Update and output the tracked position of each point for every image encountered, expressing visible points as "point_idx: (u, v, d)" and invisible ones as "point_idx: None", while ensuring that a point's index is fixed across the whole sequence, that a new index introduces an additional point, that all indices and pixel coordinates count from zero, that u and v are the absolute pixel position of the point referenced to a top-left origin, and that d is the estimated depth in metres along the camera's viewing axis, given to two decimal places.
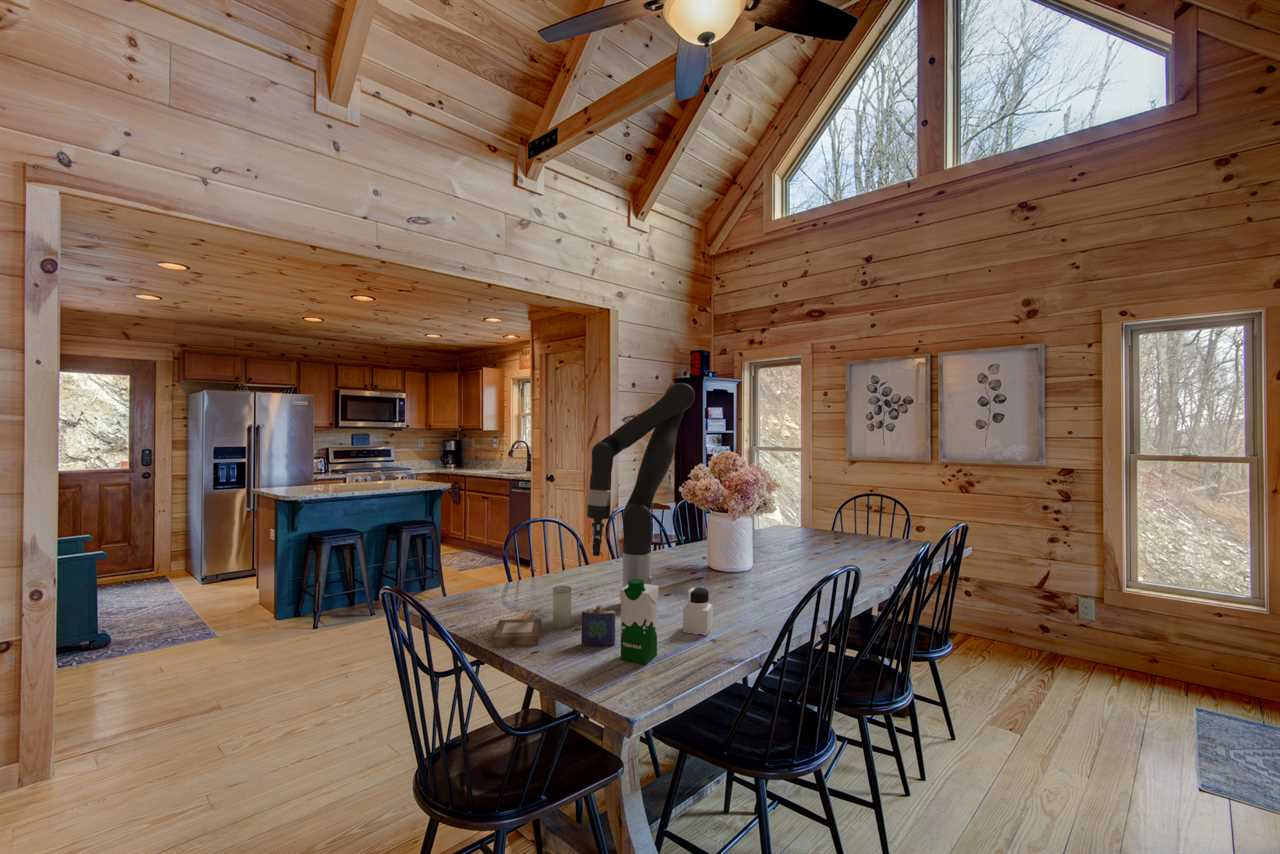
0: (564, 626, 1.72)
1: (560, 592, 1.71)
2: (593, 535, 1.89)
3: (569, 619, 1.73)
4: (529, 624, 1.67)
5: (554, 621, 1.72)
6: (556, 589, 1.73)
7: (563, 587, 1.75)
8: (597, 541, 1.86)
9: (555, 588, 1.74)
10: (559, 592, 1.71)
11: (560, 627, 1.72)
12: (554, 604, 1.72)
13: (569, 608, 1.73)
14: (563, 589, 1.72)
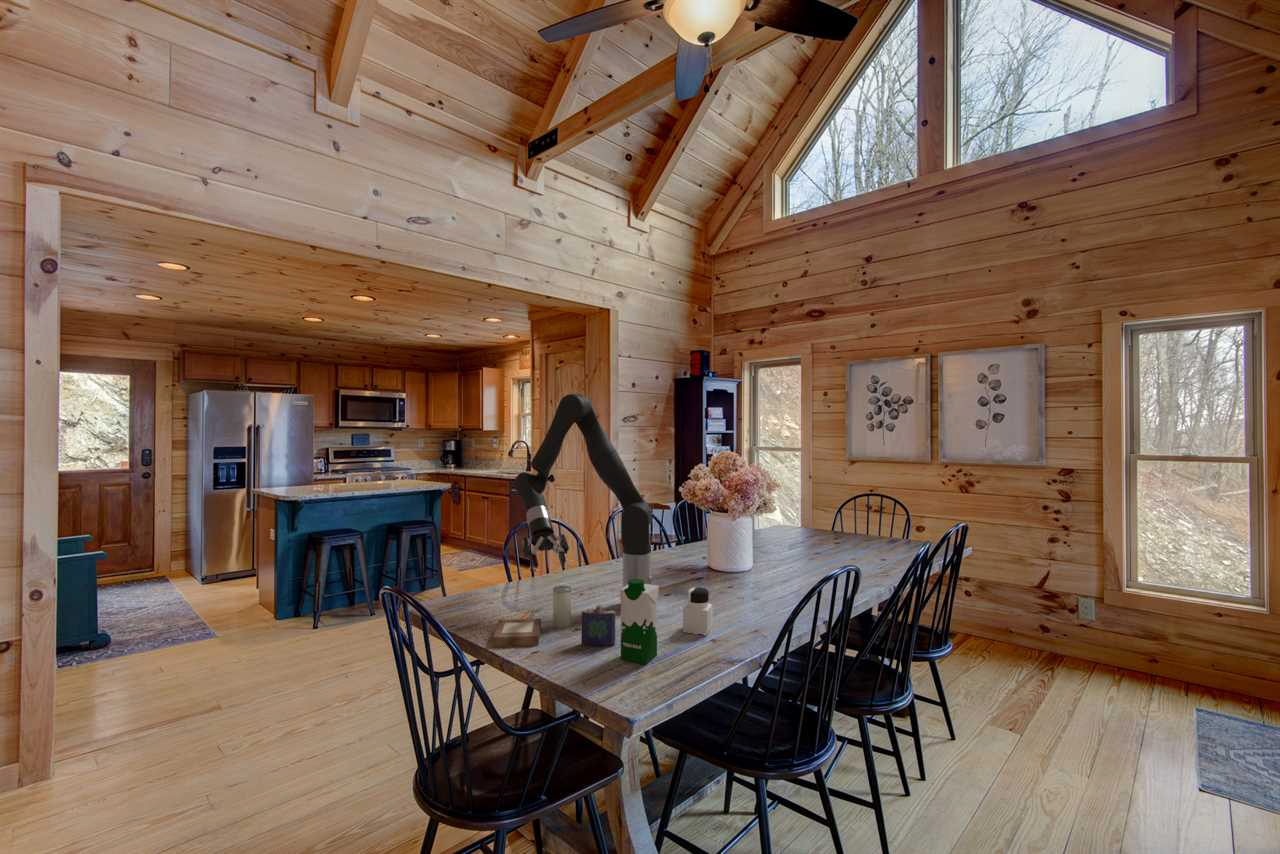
0: (564, 626, 1.72)
1: (560, 591, 1.71)
2: None
3: (569, 619, 1.73)
4: (529, 624, 1.67)
5: (554, 621, 1.72)
6: (556, 589, 1.73)
7: (563, 587, 1.75)
8: (524, 553, 1.84)
9: (555, 588, 1.74)
10: (559, 592, 1.71)
11: (560, 627, 1.72)
12: (554, 604, 1.73)
13: (569, 608, 1.73)
14: (563, 589, 1.73)
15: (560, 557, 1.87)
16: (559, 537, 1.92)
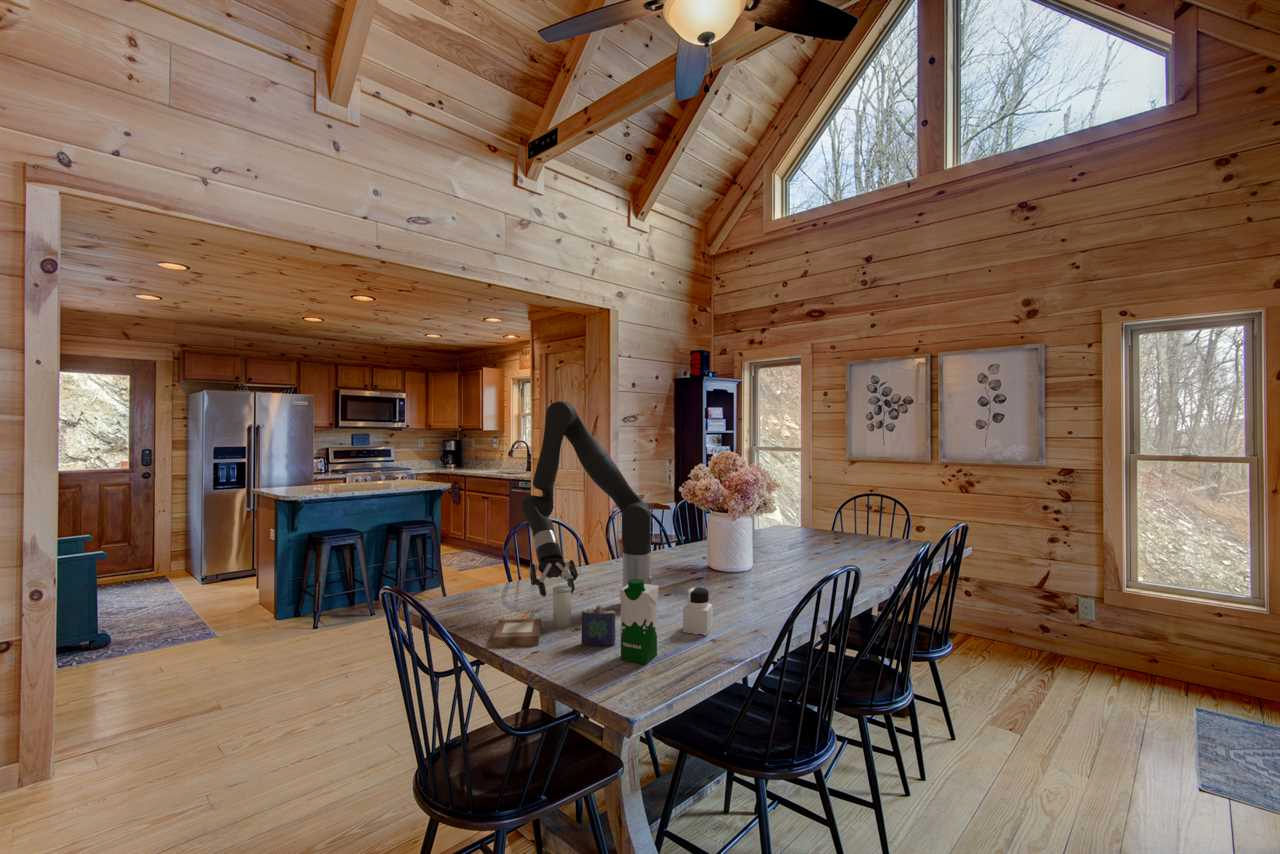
0: (564, 626, 1.72)
1: (560, 591, 1.71)
2: None
3: (569, 619, 1.73)
4: (529, 624, 1.67)
5: (554, 621, 1.72)
6: (556, 589, 1.73)
7: (563, 587, 1.75)
8: (532, 581, 1.77)
9: (555, 588, 1.74)
10: (559, 592, 1.71)
11: (560, 627, 1.72)
12: (554, 604, 1.72)
13: (569, 608, 1.73)
14: (563, 589, 1.72)
15: (569, 585, 1.80)
16: (568, 563, 1.85)
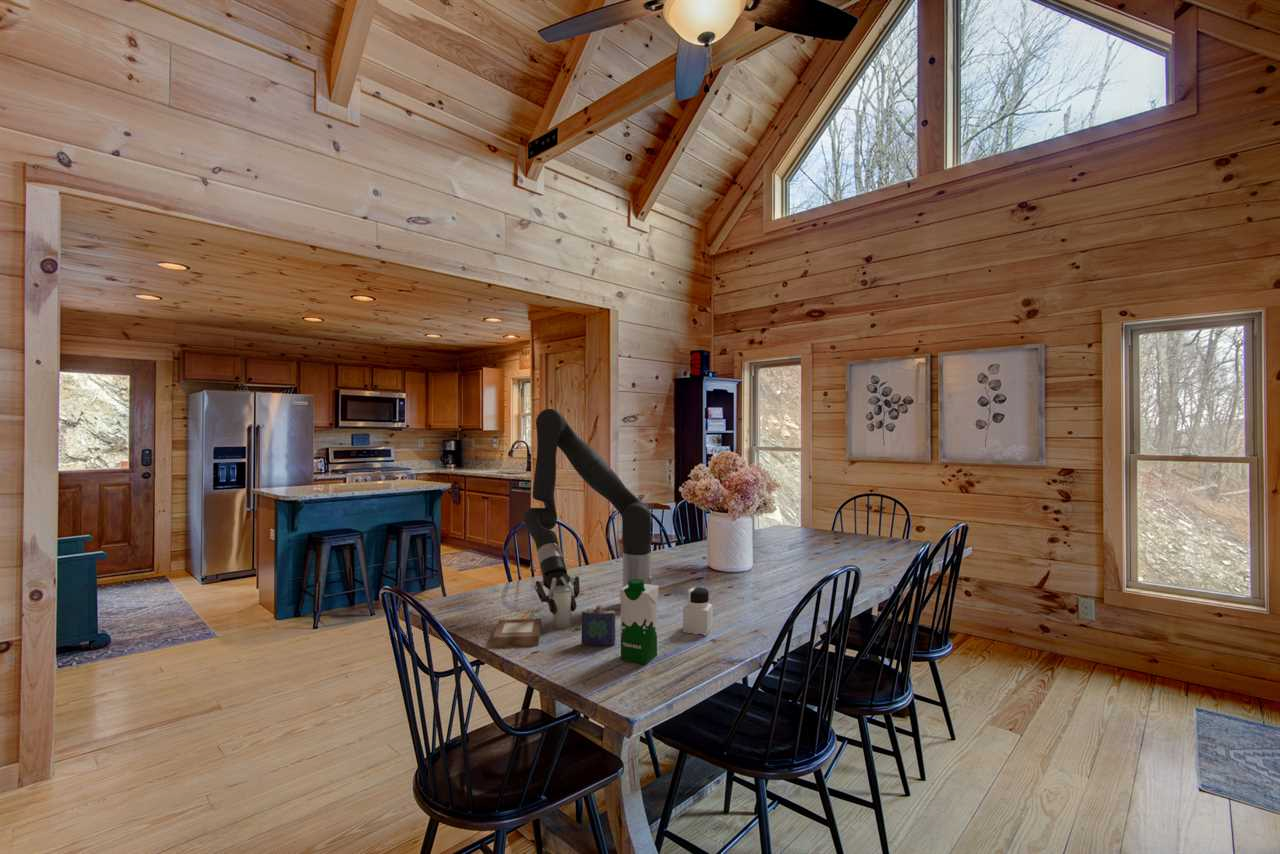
0: (564, 626, 1.72)
1: (560, 592, 1.71)
2: (548, 595, 1.76)
3: (569, 619, 1.73)
4: (529, 624, 1.67)
5: (554, 621, 1.72)
6: (556, 589, 1.73)
7: (563, 587, 1.75)
8: (541, 598, 1.73)
9: (555, 588, 1.74)
10: (559, 592, 1.71)
11: (560, 627, 1.72)
12: None
13: (569, 608, 1.73)
14: (563, 589, 1.72)
15: None
16: (573, 579, 1.81)
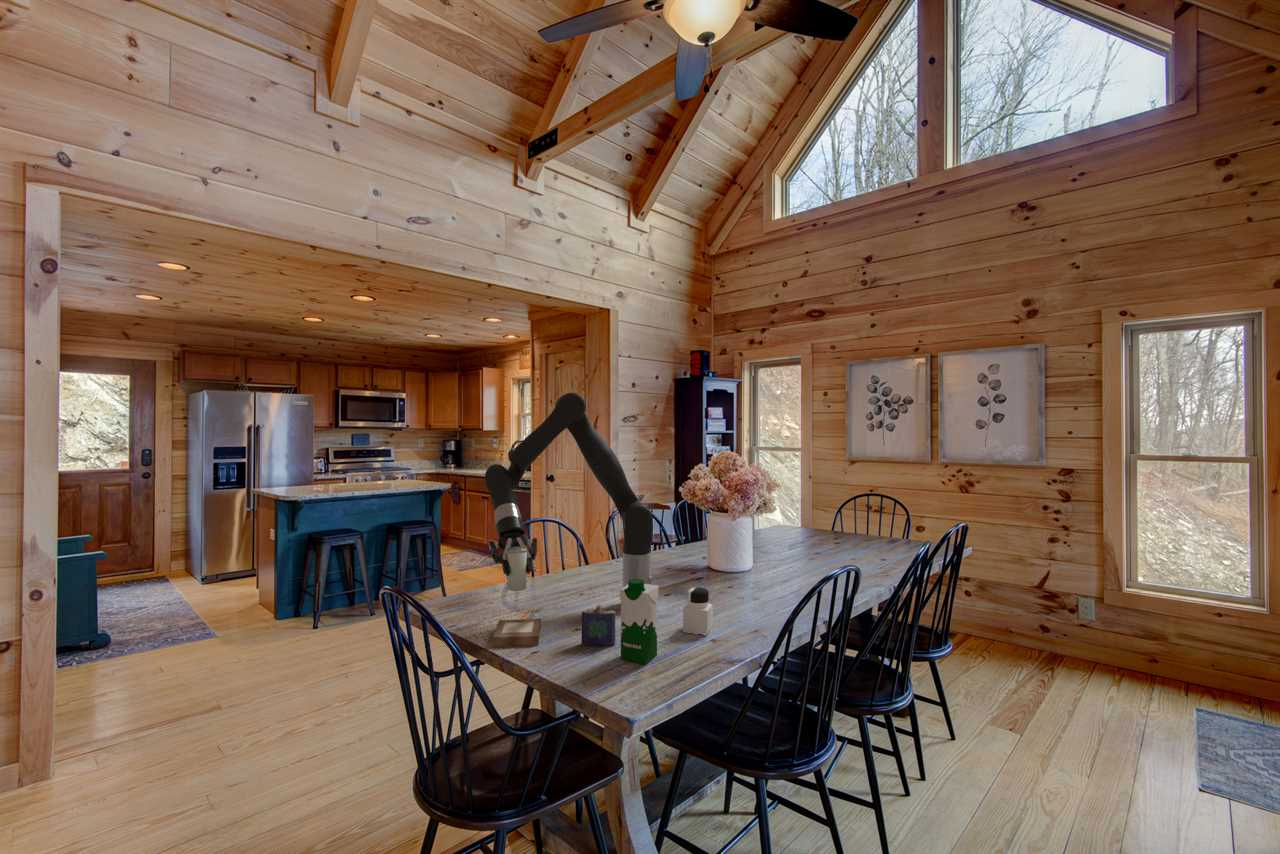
0: (518, 588, 1.62)
1: (514, 552, 1.61)
2: None
3: (524, 581, 1.63)
4: (529, 624, 1.67)
5: (508, 583, 1.62)
6: (510, 549, 1.63)
7: (518, 548, 1.65)
8: (495, 559, 1.63)
9: (510, 548, 1.64)
10: (513, 552, 1.61)
11: (514, 589, 1.61)
12: None
13: (524, 570, 1.63)
14: (518, 549, 1.62)
15: None
16: (530, 540, 1.70)
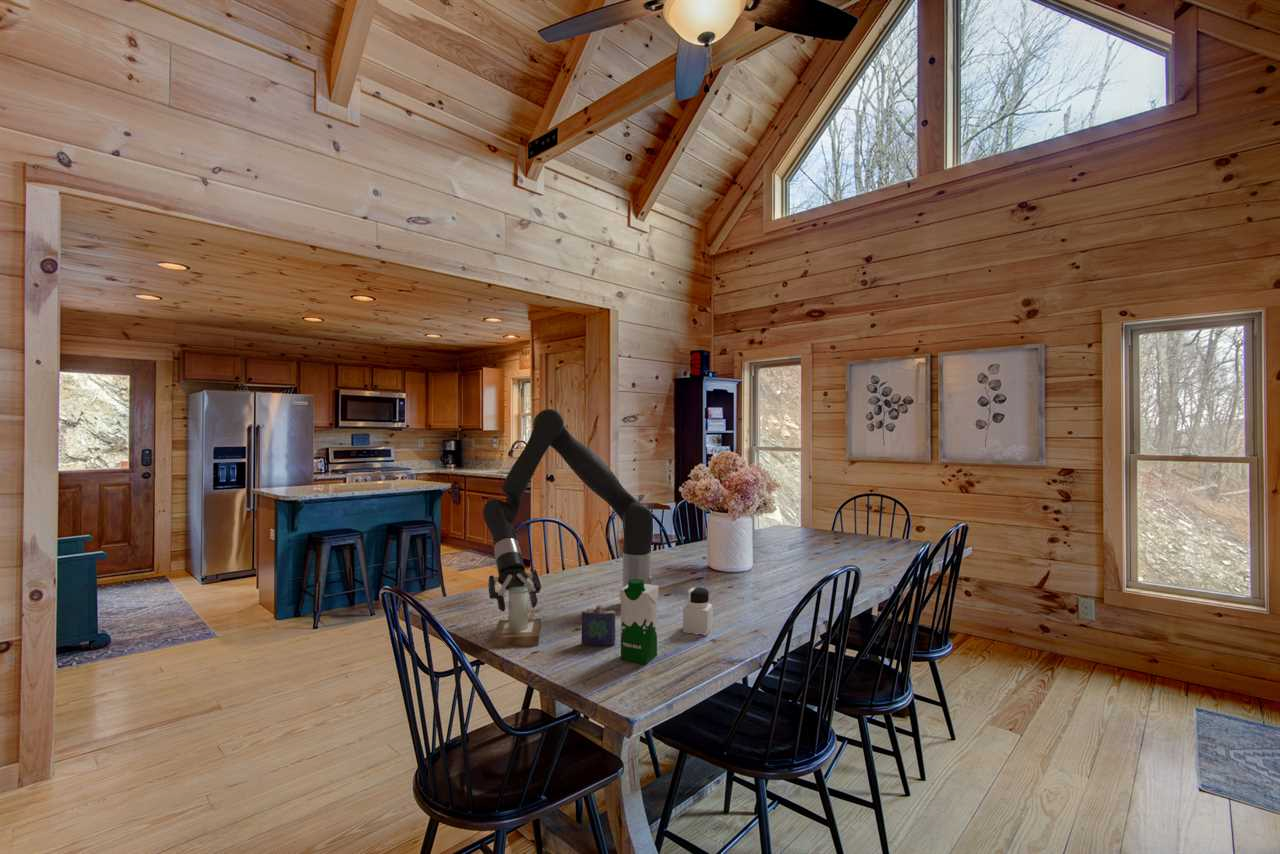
0: (519, 629, 1.62)
1: (515, 592, 1.61)
2: None
3: (525, 621, 1.63)
4: (529, 624, 1.67)
5: (509, 624, 1.62)
6: (511, 590, 1.63)
7: (519, 587, 1.65)
8: (490, 594, 1.63)
9: (511, 588, 1.64)
10: (514, 593, 1.61)
11: (515, 630, 1.61)
12: (509, 606, 1.62)
13: (525, 610, 1.63)
14: (519, 590, 1.62)
15: (531, 598, 1.66)
16: (531, 574, 1.71)
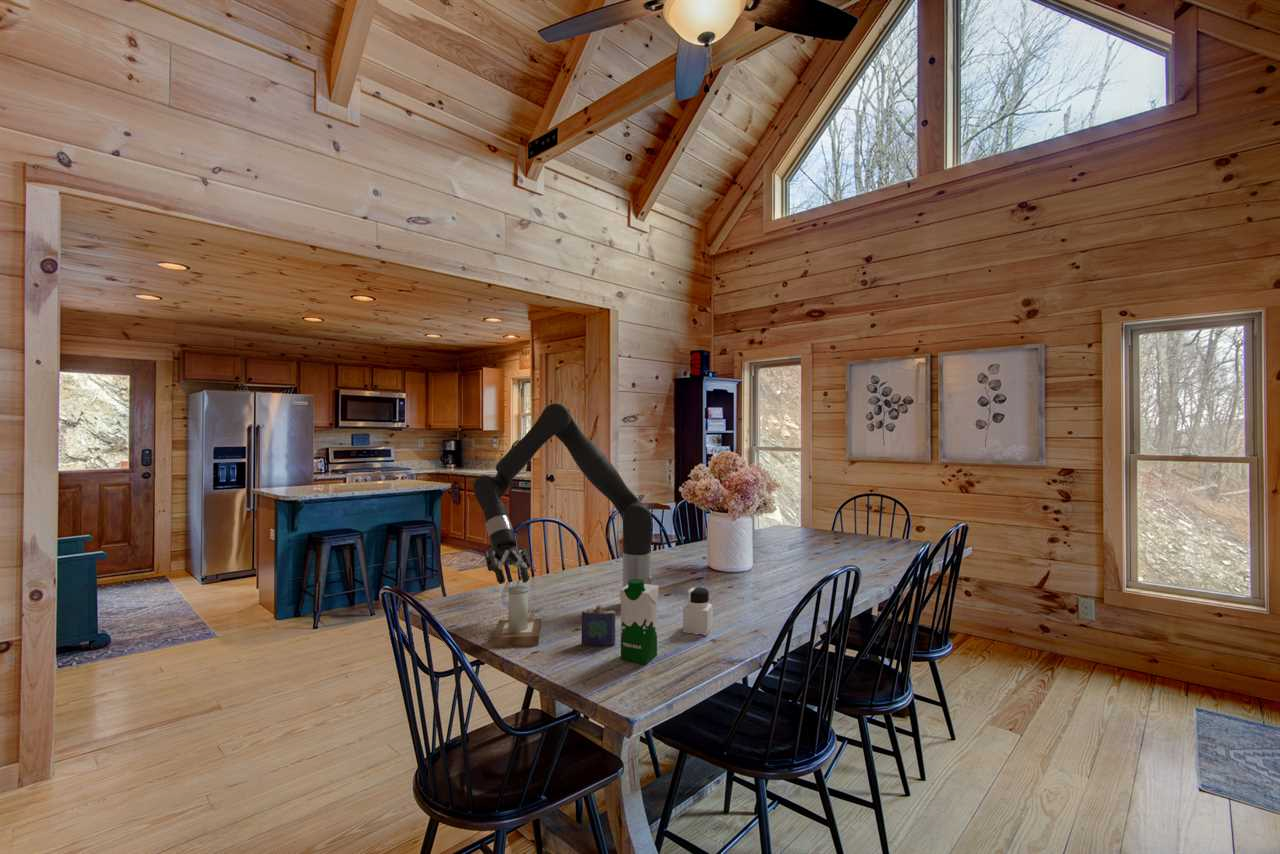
0: (519, 629, 1.62)
1: (515, 592, 1.61)
2: (495, 565, 1.76)
3: (525, 621, 1.63)
4: (529, 624, 1.67)
5: (509, 624, 1.62)
6: (511, 590, 1.62)
7: (519, 587, 1.65)
8: (490, 567, 1.72)
9: (510, 589, 1.63)
10: (514, 593, 1.61)
11: (515, 630, 1.61)
12: (509, 606, 1.62)
13: (525, 610, 1.63)
14: (519, 590, 1.62)
15: (523, 573, 1.79)
16: (521, 551, 1.83)
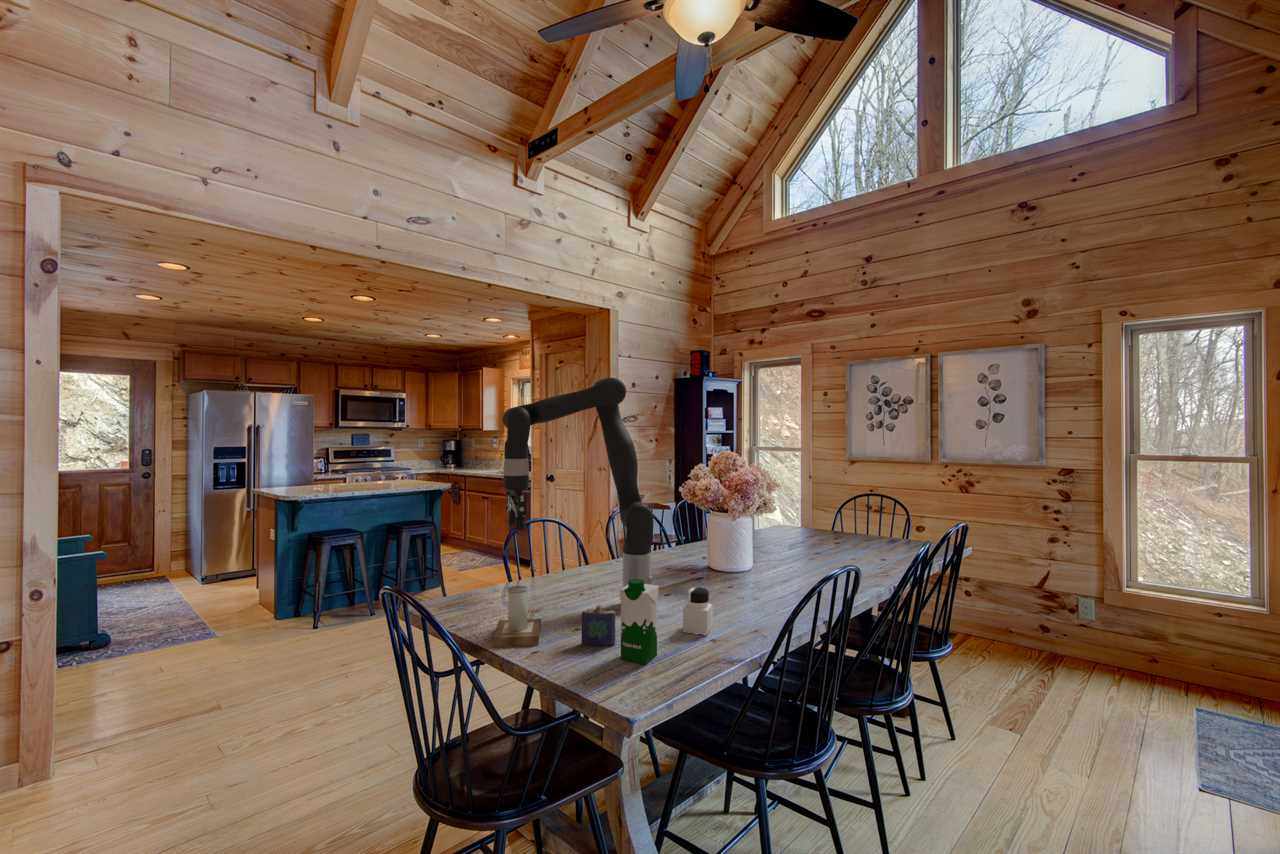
0: (519, 628, 1.62)
1: (514, 592, 1.61)
2: (515, 508, 1.74)
3: (525, 621, 1.63)
4: (529, 624, 1.67)
5: (509, 623, 1.62)
6: (511, 589, 1.63)
7: (519, 587, 1.65)
8: (522, 513, 1.72)
9: (510, 588, 1.64)
10: (513, 592, 1.61)
11: (515, 630, 1.61)
12: (508, 605, 1.63)
13: (525, 609, 1.63)
14: (518, 589, 1.63)
15: (513, 517, 1.82)
16: None
